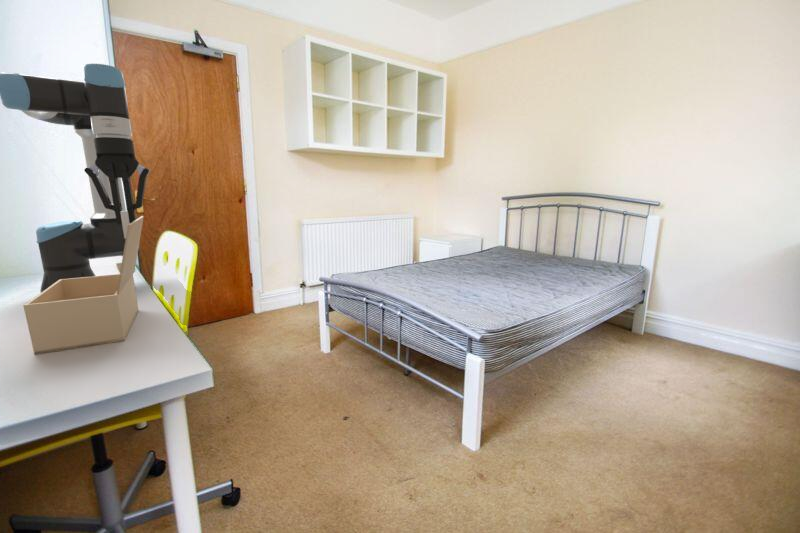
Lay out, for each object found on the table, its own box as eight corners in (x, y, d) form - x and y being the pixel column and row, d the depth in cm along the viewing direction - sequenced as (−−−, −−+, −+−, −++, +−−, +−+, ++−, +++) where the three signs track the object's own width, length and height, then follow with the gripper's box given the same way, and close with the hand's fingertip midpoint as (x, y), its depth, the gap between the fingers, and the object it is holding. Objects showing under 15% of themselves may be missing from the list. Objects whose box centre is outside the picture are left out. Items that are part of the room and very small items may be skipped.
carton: (67, 319, 105) (59, 279, 102) (138, 310, 112) (132, 272, 109) (34, 354, 84) (23, 305, 81) (124, 340, 91) (116, 295, 88)
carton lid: (142, 215, 108) (143, 216, 108) (132, 272, 109) (134, 272, 109) (128, 224, 87) (130, 225, 87) (116, 294, 88) (118, 294, 88)
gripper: (74, 134, 86) (92, 241, 91) (143, 137, 91) (157, 237, 96) (83, 138, 92) (100, 237, 97) (147, 140, 98) (160, 234, 103)
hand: (128, 237), depth 97 cm, fingers closed
